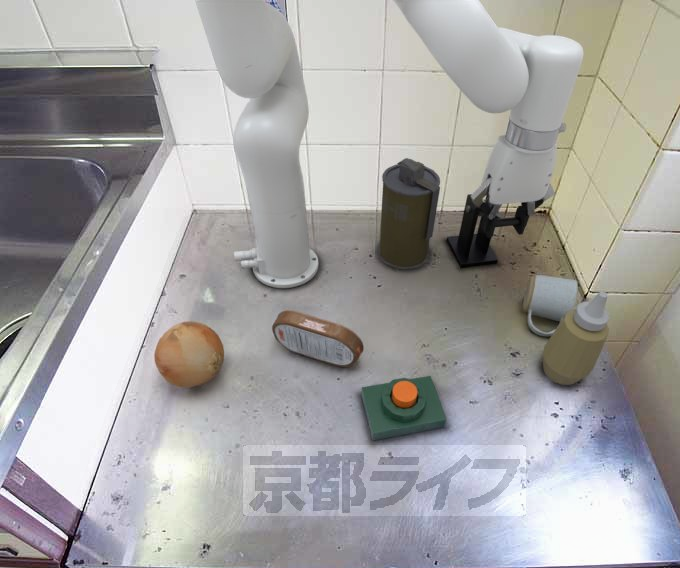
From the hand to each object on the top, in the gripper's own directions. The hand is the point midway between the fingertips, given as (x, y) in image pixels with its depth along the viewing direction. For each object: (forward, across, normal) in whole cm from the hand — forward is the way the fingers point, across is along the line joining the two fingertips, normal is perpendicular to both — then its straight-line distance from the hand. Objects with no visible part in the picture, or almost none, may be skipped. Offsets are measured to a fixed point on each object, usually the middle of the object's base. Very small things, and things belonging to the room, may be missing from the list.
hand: (502, 230), depth 83 cm
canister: (+13, +14, -11) cm, 22 cm away
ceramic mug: (+13, -7, +11) cm, 18 cm away
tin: (+13, +35, +12) cm, 39 cm away
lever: (+1, 0, -4) cm, 4 cm away
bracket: (+12, 0, -9) cm, 15 cm away
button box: (+12, +24, +25) cm, 37 cm away
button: (+9, +24, +25) cm, 36 cm away
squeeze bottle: (+13, -4, +23) cm, 26 cm away
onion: (+13, +54, +12) cm, 57 cm away
